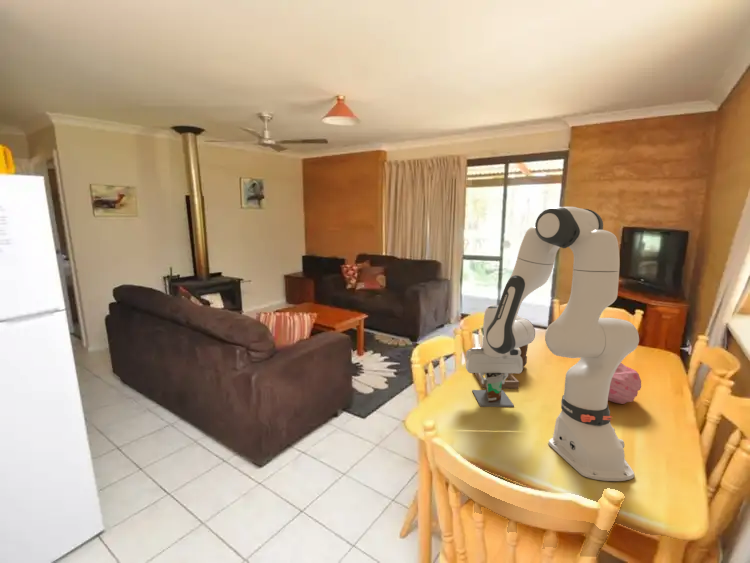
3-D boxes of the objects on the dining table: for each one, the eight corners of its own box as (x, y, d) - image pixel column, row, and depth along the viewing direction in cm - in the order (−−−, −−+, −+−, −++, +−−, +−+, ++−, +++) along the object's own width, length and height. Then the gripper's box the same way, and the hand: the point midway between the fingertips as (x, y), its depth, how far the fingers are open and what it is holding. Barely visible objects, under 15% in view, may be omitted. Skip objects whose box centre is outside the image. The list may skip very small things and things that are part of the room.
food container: (506, 404, 129) (505, 378, 128) (488, 404, 131) (487, 378, 129) (502, 389, 141) (501, 365, 140) (485, 389, 143) (484, 365, 141)
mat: (513, 406, 130) (514, 405, 130) (480, 406, 130) (480, 405, 130) (502, 391, 142) (502, 390, 142) (472, 391, 142) (472, 389, 142)
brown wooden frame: (518, 388, 144) (518, 381, 144) (483, 388, 145) (483, 381, 144) (504, 371, 161) (504, 365, 161) (472, 371, 161) (472, 365, 161)
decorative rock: (597, 386, 146) (601, 351, 144) (641, 397, 137) (645, 360, 134) (587, 404, 132) (591, 365, 130) (635, 417, 123) (640, 376, 120)
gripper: (468, 350, 130) (466, 387, 132) (525, 351, 130) (523, 387, 132) (464, 345, 136) (463, 379, 138) (519, 345, 136) (516, 380, 138)
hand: (492, 383), depth 135 cm, fingers closed on food container, 5 cm apart
